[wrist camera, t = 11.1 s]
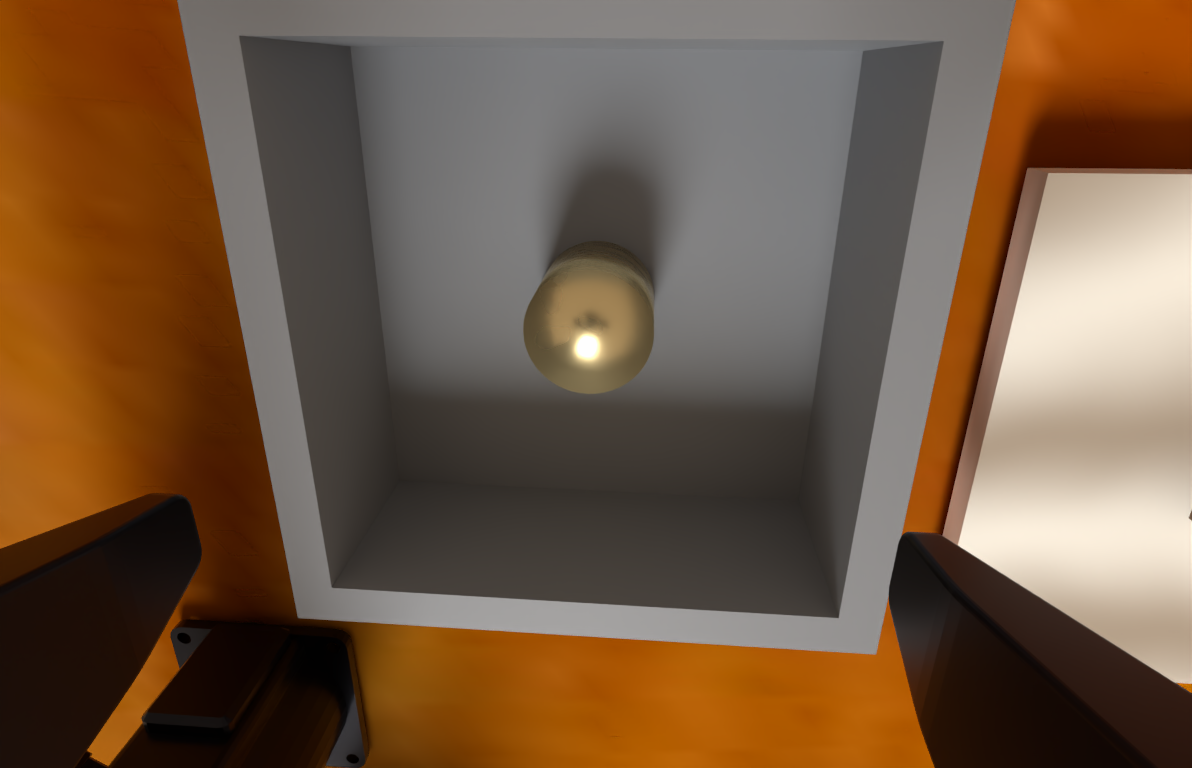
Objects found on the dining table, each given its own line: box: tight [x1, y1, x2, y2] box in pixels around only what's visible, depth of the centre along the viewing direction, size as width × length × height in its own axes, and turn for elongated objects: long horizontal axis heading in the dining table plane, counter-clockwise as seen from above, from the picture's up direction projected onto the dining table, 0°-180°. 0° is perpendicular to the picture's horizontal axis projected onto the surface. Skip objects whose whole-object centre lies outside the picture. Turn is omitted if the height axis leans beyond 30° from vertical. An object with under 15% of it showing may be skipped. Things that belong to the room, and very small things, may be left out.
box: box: [177, 0, 1016, 654], centre depth 17 cm, size 14×14×6 cm
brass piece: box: [523, 241, 654, 394], centre depth 18 cm, size 3×3×3 cm
